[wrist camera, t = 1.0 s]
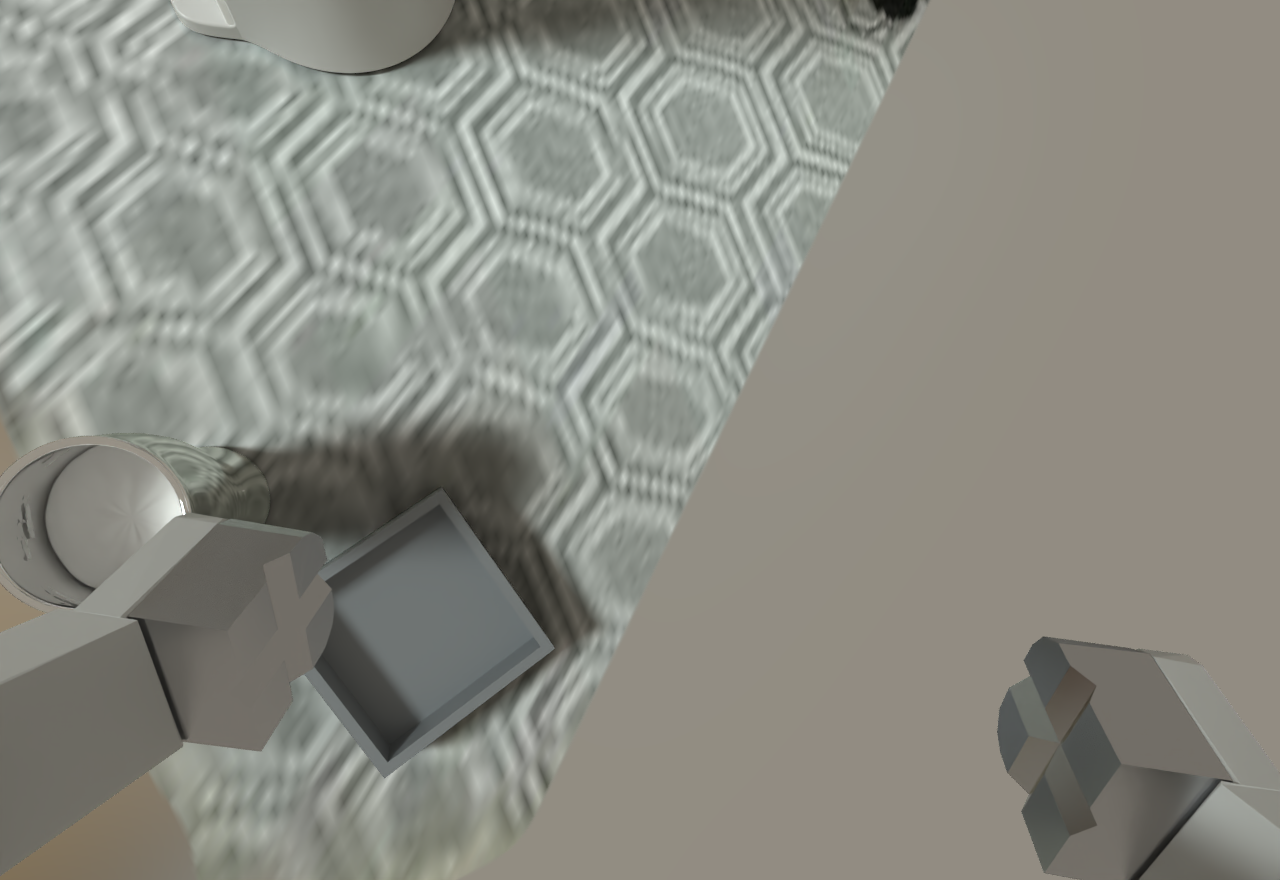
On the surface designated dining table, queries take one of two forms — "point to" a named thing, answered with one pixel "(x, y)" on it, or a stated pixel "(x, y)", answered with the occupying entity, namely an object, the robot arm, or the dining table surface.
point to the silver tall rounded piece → (109, 507)
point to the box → (419, 632)
